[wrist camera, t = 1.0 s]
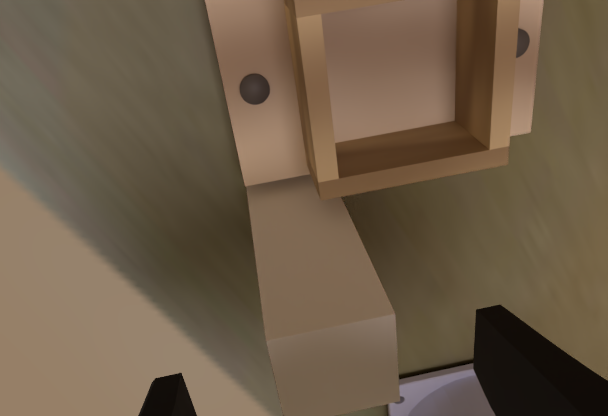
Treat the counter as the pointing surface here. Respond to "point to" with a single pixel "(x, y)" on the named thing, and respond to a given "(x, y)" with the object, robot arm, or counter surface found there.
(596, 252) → the counter surface
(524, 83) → the bracket
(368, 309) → the post
